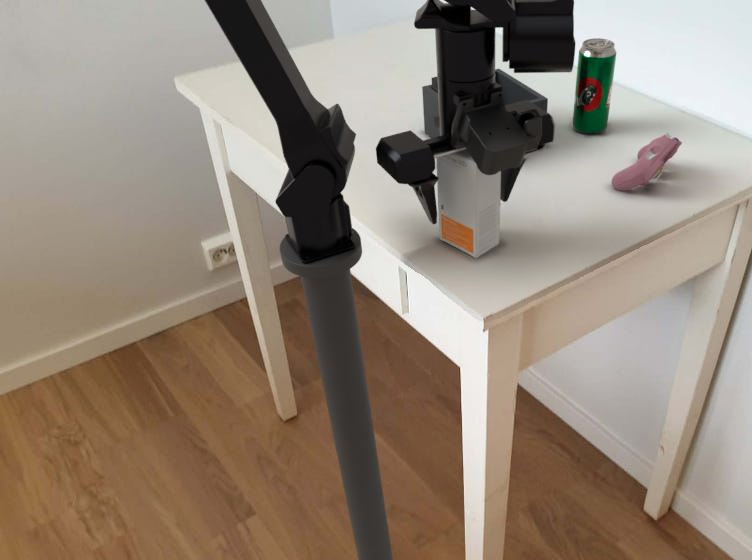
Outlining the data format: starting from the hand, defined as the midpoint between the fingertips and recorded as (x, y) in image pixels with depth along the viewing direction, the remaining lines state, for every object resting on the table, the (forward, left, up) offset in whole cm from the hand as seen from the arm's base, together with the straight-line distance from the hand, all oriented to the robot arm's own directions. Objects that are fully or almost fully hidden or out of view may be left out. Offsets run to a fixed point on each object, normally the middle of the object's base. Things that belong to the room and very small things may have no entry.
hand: (468, 211), depth 82 cm
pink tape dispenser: (+27, +1, -4) cm, 27 cm away
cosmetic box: (0, 0, -4) cm, 4 cm away
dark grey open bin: (+15, +22, -4) cm, 27 cm away
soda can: (+30, +17, -4) cm, 35 cm away
